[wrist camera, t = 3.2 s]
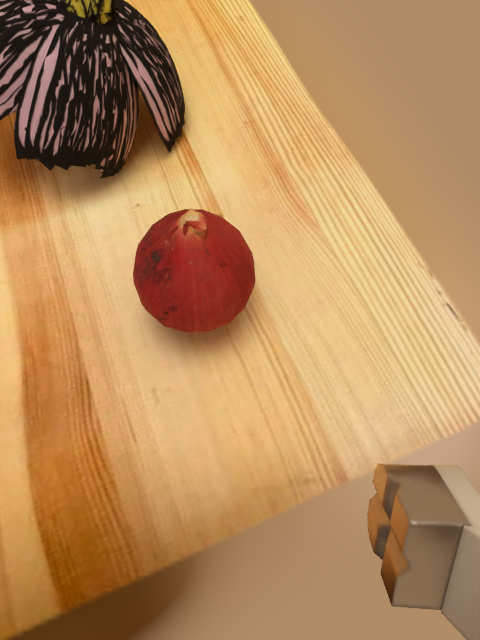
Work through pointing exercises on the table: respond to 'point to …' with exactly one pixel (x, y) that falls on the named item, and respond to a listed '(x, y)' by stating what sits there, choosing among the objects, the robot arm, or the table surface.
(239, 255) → the onion
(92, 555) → the table surface
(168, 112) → the decorative flower
